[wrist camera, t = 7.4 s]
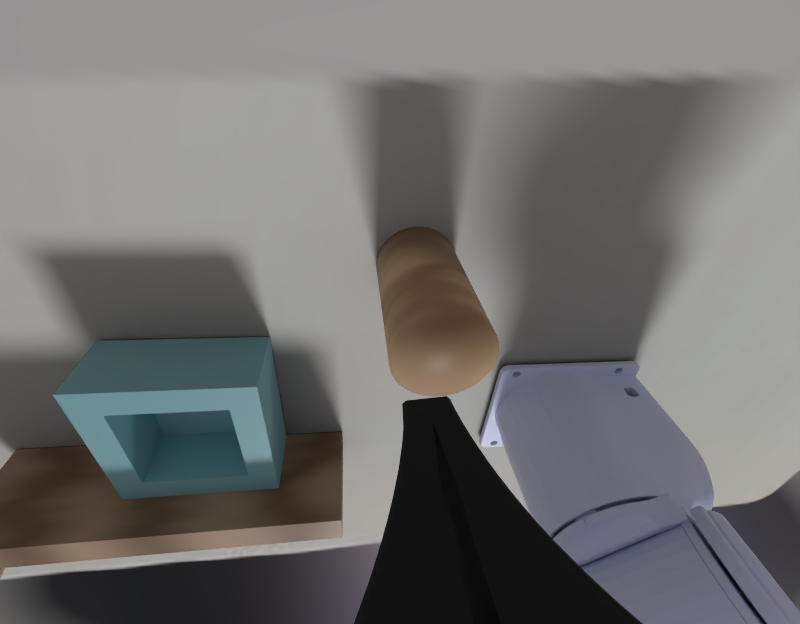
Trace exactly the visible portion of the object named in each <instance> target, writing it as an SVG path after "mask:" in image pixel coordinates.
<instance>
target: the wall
mask: <svg viewBox="0 0 800 624" xmlns="http://www.w3.org/2000/svg"><path fill="white" fill-rule="evenodd" d="M342 500H343V440H342V432H327V433H309V434H290V435H287V437H286V444H285V451H284V457H283V464H282V471H281V478H280V485H279V488H274V489H261V490H247V491H233V492H219V493H205V494H191V495H177V496H163V497H149V498H135V499H122V498H121V497H120V495H119V494H118V492H117V491H116V489H115V488H114V486H113V485H112V483H111V482H110V480H109V479H108V477H107V476H106V474H105V473H104V471H103V470H102V468H101V467H100V465H99V464H98V462H97V461H96V459H95V458H94V456H93V455H92V453H91V452H90V450H89V449H88V447H87V446H70V447H52V448H34V449H16V451H15V452H14V453H13V455H12V456H11V457H10V458H9V460H8V461H7V462H6V463H5V465H4V466H3V467H2V468H1V470H0V568H6V567H18V566H29V565H40V564H51V563H62V562H73V561H84V560H96V559H107V558H118V557H129V556H140V555H151V554H163V553H174V552H185V551H196V550H207V549H218V548H229V547H241V546H252V545H263V544H274V543H285V542H296V541H307V540H319V539H330V538H341V537H342Z"/></svg>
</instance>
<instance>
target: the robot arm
mask: <svg viewBox="0 0 800 624" xmlns="http://www.w3.org/2000/svg"><path fill="white" fill-rule="evenodd" d="M639 368H640V366H639V365H638V364H637V363H636V362H635V361H619V362H590V363H561V364H532V365H507V366H504V367H503V368H501V370H500V372H499V375H498V378H497V382H496V385H495V389H494V392H493V395H492V399H491V402H490V406H489V409H488V412H487V416H486V419H485V423H484V426H483V429H482V433H481V436H480V440H479V442H480V445H481V446H482V447H499V446H504V448H505V451H506V453H507V456H508V458H509V461H510V464H511V466H512V469H513V471H514V474H515V477H516V479H517V482H518V484H519V487H520V490H521V492H522V495H523V497H524V500H525V503H526V505H527V508H528V510H529V512H528V511H527V510H526V509H525V508H524V507H523V506H522V504H521V503H520V502H519V501H518V500H517V498H516V497H515V496H514V495H513V493H512V492H511V491H510V490H509V489H508V487H507V486H506V485H505V483H504V482H503V481H502V479H501V478H500V477H499V476H498V474H497V473H496V472H495V470H494V469H493V468H492V466H491V465H490V463H489V462H488V461H487V459H486V458H485V456H484V455H483V453H482V452H481V450H480V449H479V448H478V446H477V445H476V443H475V442H474V440H473V439H472V437H471V436H470V434H469V432H468V431H467V429H466V427H465V426H464V424H463V422H462V421H461V419H460V417H459V416H458V414H457V412H456V410H455V408H454V406H453V404H452V402H451V400H450V399H449V398H448V397H447V396H445V397H436V398H427V399H418V400H408V401H405V402H404V403H403V404H402V405H403V426H404V428H403V442H402V450H401V457H400V464H399V470H398V476H397V480H396V485H395V490H394V495H393V500H392V504H391V508H390V512H389V516H388V520H387V524H386V527H385V531H384V535H383V538H382V542H381V545H380V549H379V552H378V555H377V558H376V561H375V565H374V568H373V571H372V574H371V577H370V580H369V583H368V586H367V589H366V592H365V594H364V597H363V600H362V603H361V605H360V608H359V611H358V614H357V617H356V619H355V622H354V624H800V612H799V611H798V609H797V608H796V607H795V605H794V604H793V603H792V602H791V600H790V599H789V598H788V597H787V595H786V594H785V593H784V591H783V590H782V589H781V588H780V586H779V585H778V584H777V583H776V581H775V580H774V579H773V578H772V576H771V575H770V574H769V572H768V571H767V570H766V569H765V567H764V566H763V565H762V564H761V562H760V561H759V560H758V559H757V557H756V556H755V555H754V554H753V552H752V551H751V550H750V549H749V547H748V546H747V545H746V544H745V542H744V541H743V540H742V539H741V537H740V536H739V535H738V534H737V532H736V531H735V530H734V529H733V527H732V526H731V525H730V524H729V522H728V521H727V520H726V519H725V518H724V517H723V516H722V514H719V513H717V512H714V511H711V509H712V505H713V497H714V495H713V486H712V482H711V478H710V475H709V472H708V469H707V467H706V465H705V463H704V461H703V459H702V457H701V455H700V454H699V452H698V450H697V449H696V448H695V447H694V445H693V444H692V443H691V442H690V440H689V439H688V438H687V437H686V436H685V434H684V433H683V432H682V431H681V430H680V429H679V427H678V426H677V425H676V424H675V423H674V421H673V420H672V419H671V418H670V417H669V416H668V414H667V413H666V412H665V411H664V410H663V409H662V407H661V406H660V405H659V404H658V403H657V401H656V400H655V399H654V398H653V397H652V396H651V394H650V393H649V392H648V391H647V390H646V388H645V387H644V386H643V385H642V384H641V383H640V381H639V380H638V379H637V378H636V377H635V376H636V374H637V372H638V371H639ZM515 372H516V373H515ZM529 513H530V514H529Z"/></svg>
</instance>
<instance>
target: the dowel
mask: <svg viewBox="0 0 800 624" xmlns="http://www.w3.org/2000/svg"><path fill="white" fill-rule="evenodd" d="M376 265H377V275H378V283H379V291H380V298H381V306H382V314H383V321H384V329H385V336H386V344H387V352H388V359H389V366H390V371H391V373H392V375H393V377H394V379H395V380H396V381H397V382H398V383H399V384H400V385H401V386H402V387H404V388H405V389H407V390H409V391H411V392H413V393H416V394H420V395H425V396H445V395H450V394H454V393H458V392H460V391H463V390H465V389H468V388H470V387H471V386H473V385H475V384H476V383H478V382H479V381H480V380H482V379H483V378H484V377H485V376H486V375H487V374H488V373H489V372H490V370H491V369H492V368H493V366H494V364H495V362H496V360H497V357H498V352H499V342H498V338H497V335H496V333H495V331H494V329H493V327H492V325H491V323H490V321H489V319H488V317H487V315H486V313H485V311H484V309H483V307H482V305H481V303H480V301H479V299H478V297H477V295H476V293H475V291H474V289H473V287H472V285H471V283H470V281H469V279H468V277H467V275H466V273H465V271H464V269H463V267H462V265H461V263H460V261H459V260H458V258H457V256H456V254H455V252H454V250H453V248H452V246H451V244H450V242H449V241H448V240H447V238H446V237H444V236H443V235H442V234H441V233H439V232H437V231H435V230H433V229H429V228H424V227H414V228H408V229H405V230H402V231H400V232H398V233H396V234H394V235H393V236H392V237H390V238H389V239H388V240H387V241H386V242H385V243H384V245H383V246H382V248H381V250H380V252H379V254H378V257H377V264H376Z"/></svg>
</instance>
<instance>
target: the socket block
mask: <svg viewBox="0 0 800 624" xmlns="http://www.w3.org/2000/svg"><path fill="white" fill-rule="evenodd" d="M53 396H54V398H55V399H56V401H57V402H58V404H59V405H60V407H61V408H62V410H63V411H64V413H65V414H66V416H67V417H68V419H69V420H70V422H71V423H72V425H73V426H74V428H75V429H76V431H77V432H78V434H79V435H80V437H81V438H82V440H83V441H84V443H85V444H86V446H87V447H88V449H89V450H90V452H91V453H92V455H93V456H94V458H95V459H96V461H97V462H98V464H99V465H100V467H101V468H102V470H103V471H104V473H105V474H106V476H107V477H108V479H109V480H110V482H111V483H112V485H113V486H114V488H115V489H116V491H117V492H118V494H119V495H120V497H121V498H122V499H135V498H149V497H163V496H177V495H191V494H205V493H219V492H233V491H247V490H261V489H274V488H279V485H280V478H281V471H282V464H283V457H284V451H285V444H286V437H287V435H286V429H285V423H284V417H283V412H282V406H281V400H280V394H279V388H278V382H277V377H276V371H275V365H274V359H273V353H272V347H271V342H270V337H242V338H197V339H152V340H108V341H96V342H95V344H94V345H93V346H92V347H91V349H90V350H89V351H88V352H87V353H86V355H85V356H84V357H83V358H82V360H81V361H80V362H79V363H78V365H77V366H76V367H75V368H74V369H73V371H72V372H71V373H70V374H69V376H68V377H67V378H66V379H65V380H64V382H63V383H62V384H61V385H60V387H59V388H58V389H57V390H56V392H55V393H54V394H53Z"/></svg>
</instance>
